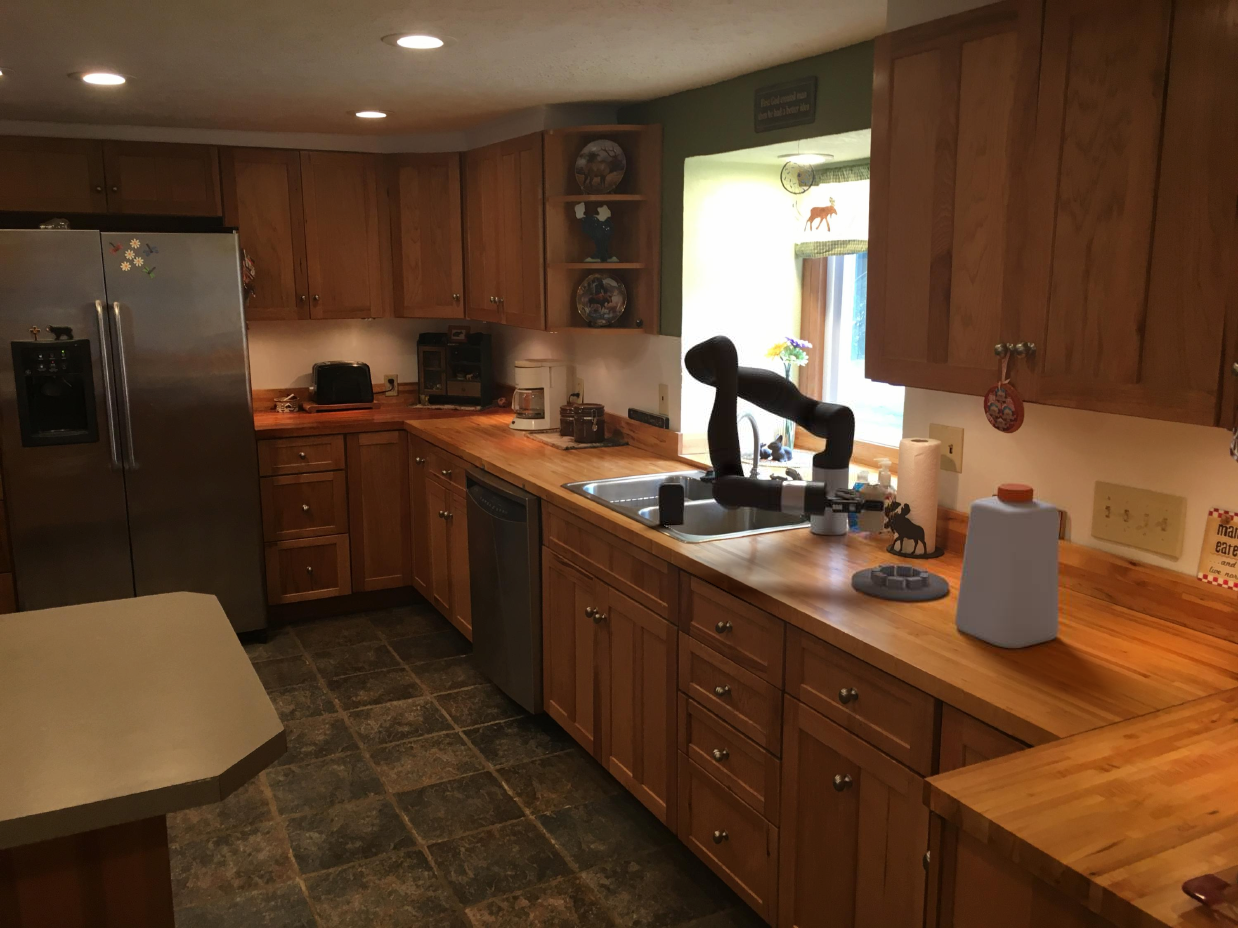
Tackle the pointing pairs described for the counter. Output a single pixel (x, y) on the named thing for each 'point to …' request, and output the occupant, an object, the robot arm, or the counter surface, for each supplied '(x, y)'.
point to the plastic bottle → (1010, 570)
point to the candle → (871, 519)
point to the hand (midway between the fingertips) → (883, 502)
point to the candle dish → (898, 594)
